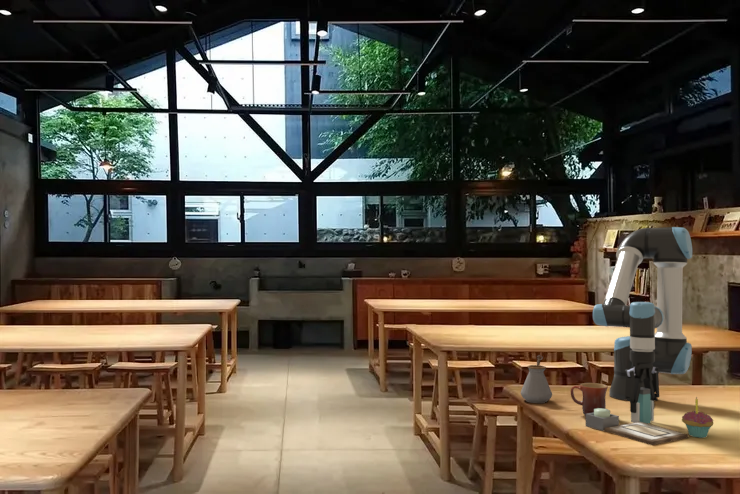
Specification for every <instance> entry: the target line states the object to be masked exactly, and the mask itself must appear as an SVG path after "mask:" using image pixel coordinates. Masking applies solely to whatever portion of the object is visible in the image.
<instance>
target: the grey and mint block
mask: <svg viewBox="0 0 740 494" xmlns="http://www.w3.org/2000/svg"><path fill="white" fill-rule="evenodd" d="M637 403H640V422H644V423H647V424H652V421H650V389H648V388H643V387H641V388H640V393H639V398H638V402H637Z"/></svg>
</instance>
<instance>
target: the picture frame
mask: <svg viewBox="0 0 740 494" xmlns="http://www.w3.org/2000/svg"><path fill="white" fill-rule="evenodd" d="M604 432H607V433H610V434H614V435H617V436H620V437H622V438H627V439H630V440H633V441H637V442H640V443H644V444H647V445H650V446H655V445H659V444H660V445H661V444H664V443H670V442H674V441H675V442H676V441H680V440H684V439H688V438H689V433H684V432H681V431H677V430H673V429H669V428H665V427H662V426H658V425H654V424H652V423H648V424H647V423H644V422H635V423H634V422H630V423H624V424H619V425H618V426H612V427H606V428H605V431H604Z"/></svg>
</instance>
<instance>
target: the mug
mask: <svg viewBox="0 0 740 494" xmlns="http://www.w3.org/2000/svg"><path fill="white" fill-rule="evenodd" d="M574 389H578V390H579V391H581V393H582V400H578V399H577V398H576V397H575V393H574ZM607 390H608V385H606V384H603V383H596V382H584V383H583V382H582V383H580V384H579V385H572V387H571V388H570V397H571V399H572V401H573V402H574V403H575V404H577V405H578V406H581V407H582V409H581V410H582V413H583V415H584V416H585V417H586V414H588V413H594V409H597V408H602V409H607V408H606V406H607V405H606V403H607V402H606V395H607Z"/></svg>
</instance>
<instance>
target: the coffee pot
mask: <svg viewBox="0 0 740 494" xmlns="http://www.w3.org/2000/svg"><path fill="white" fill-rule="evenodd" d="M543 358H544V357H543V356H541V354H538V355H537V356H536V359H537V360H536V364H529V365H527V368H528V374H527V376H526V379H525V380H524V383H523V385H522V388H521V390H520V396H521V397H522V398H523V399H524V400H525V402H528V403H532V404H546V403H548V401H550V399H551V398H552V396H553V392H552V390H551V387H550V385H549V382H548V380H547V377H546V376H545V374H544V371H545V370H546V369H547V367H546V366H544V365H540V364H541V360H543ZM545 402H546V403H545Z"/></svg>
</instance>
